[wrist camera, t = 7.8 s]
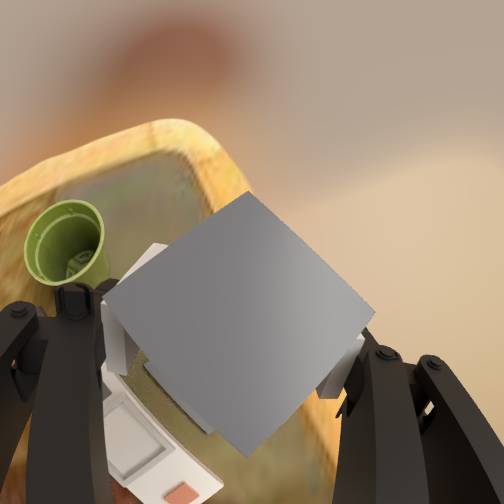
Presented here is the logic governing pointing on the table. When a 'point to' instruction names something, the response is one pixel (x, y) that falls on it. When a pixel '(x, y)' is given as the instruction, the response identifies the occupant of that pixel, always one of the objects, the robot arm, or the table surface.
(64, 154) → the table surface
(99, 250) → the plant pot
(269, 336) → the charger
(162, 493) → the white slab
